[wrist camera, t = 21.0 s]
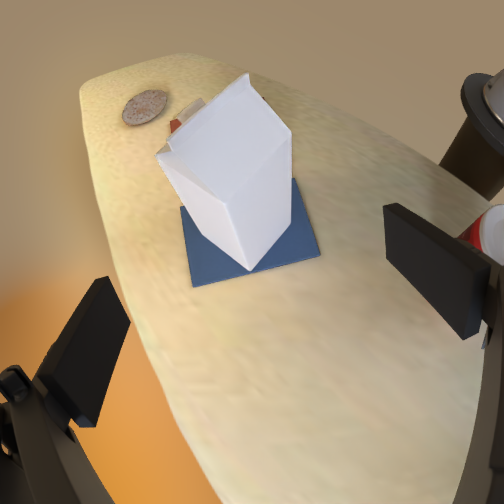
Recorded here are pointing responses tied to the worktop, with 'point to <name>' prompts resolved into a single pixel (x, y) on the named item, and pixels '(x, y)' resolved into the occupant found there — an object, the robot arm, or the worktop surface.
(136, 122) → the flatbread
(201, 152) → the milk carton
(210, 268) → the slate-blue mat
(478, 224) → the canned food
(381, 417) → the worktop surface
